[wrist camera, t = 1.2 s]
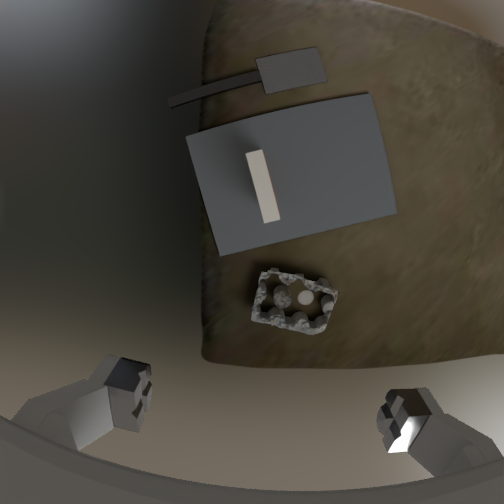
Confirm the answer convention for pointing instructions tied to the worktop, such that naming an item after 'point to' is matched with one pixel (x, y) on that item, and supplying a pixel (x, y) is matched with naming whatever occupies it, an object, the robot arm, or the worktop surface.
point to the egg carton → (284, 300)
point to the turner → (265, 76)
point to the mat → (295, 172)
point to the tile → (263, 185)
